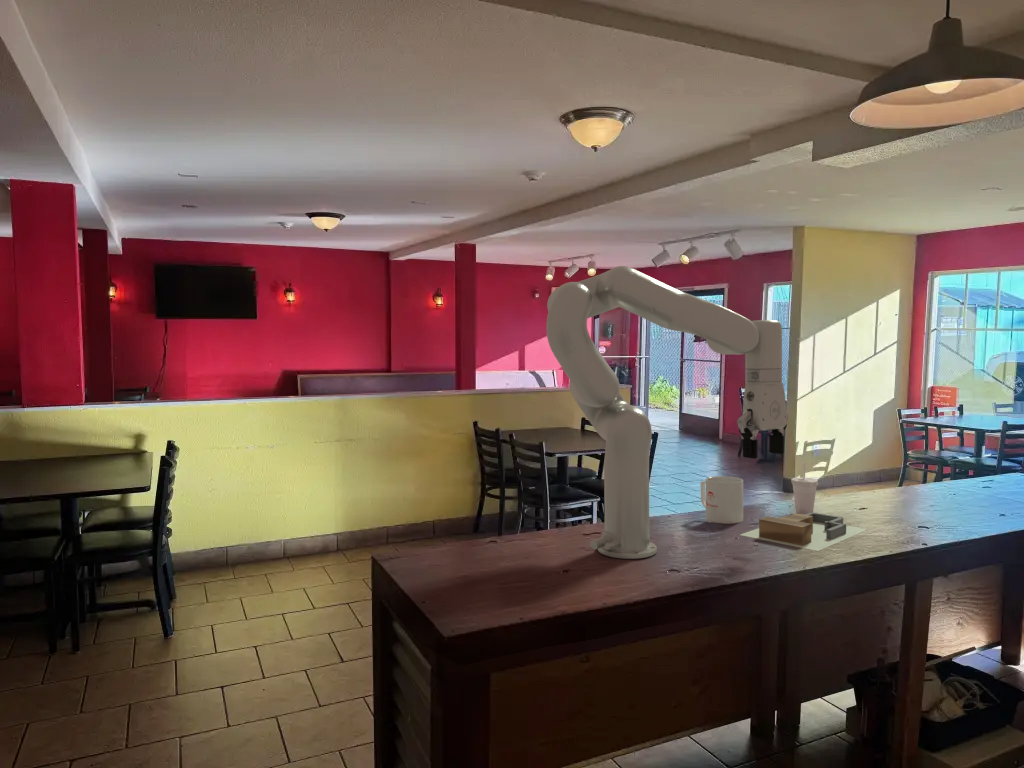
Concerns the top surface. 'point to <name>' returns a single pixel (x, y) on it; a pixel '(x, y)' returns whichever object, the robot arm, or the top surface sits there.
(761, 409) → the robot arm
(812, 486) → the smoothie
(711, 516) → the mug
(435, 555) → the top surface
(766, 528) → the t block
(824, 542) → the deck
